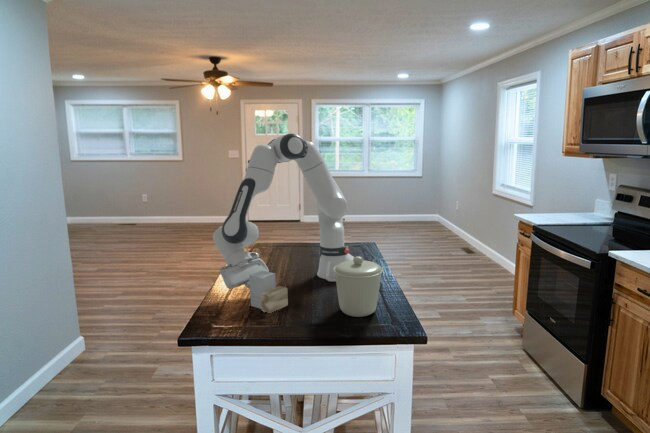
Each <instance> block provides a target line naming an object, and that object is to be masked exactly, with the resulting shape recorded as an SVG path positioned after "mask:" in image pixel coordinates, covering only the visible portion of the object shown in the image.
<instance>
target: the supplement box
mask: <svg viewBox="0 0 650 433" xmlns="http://www.w3.org/2000/svg"><path fill="white" fill-rule="evenodd" d="M249 281H250V289H249V294H250V295H249V296H250V306H251V307H254V308H256V309H260V310H262V301H261V293H264V292H266V291H269V290H271V289H273V288H276V287H277V284H276V273H275V272H271V271H269V272H267V271H263V270H261V271H259V272H256V273H254V274H251V275H249Z"/></svg>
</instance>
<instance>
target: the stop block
mask: <svg viewBox="0 0 650 433" xmlns="http://www.w3.org/2000/svg"><path fill="white" fill-rule="evenodd" d="M288 294H289V293H288V287H286V286H281V285H278V286H276V288H273V289H271V290H269V291H266V292H264V293H261V301H262V309H261V312H262V311H263V313H265V312H267V313H266V314H268V313H271V314H272V312H273V313H274V311H275V312H277V311H279V310H281V309H283V308H285V307H287V306H288V305H289V297H288V296H289V295H288ZM276 310H277V311H276Z"/></svg>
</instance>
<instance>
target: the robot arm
mask: <svg viewBox="0 0 650 433" xmlns="http://www.w3.org/2000/svg"><path fill="white" fill-rule="evenodd" d="M250 155H251V156H250V158H249V161H248V164H247V168H246V171H245V175H244V178H243V179H242V181H241V183H240V185H239V187H238V189H237V192H236V195H235V197H234V201H233V203H232V206H231V209H230V210H229V214H228V216H227V217H226V218H225V220H224V221H223V223H222V225H221V226H219V227H217V228H216V229H215V231H214V232H213V234H212V240H213V243H214V244H215V247H216V249H217V251H218V252H219V254H220V255H222V257H223V260H224V262H225V264H226V265H225V266H221V267H220V269H219V274H220V275H221V278H222V280H223V282H224V285H225V286H226V288H227V289H229V290H232V289H233V290H234V289H235V288H238V287H241V286H243V285H244V286H245V287H246V288H247V289H249V290H250V281H249V275H251V274H254V273H256V272H259V271H261V270H263V271H267V272H270V270H269V267H268V265H267V264H266V263H265V261H264V260H263V259H262V258H260V254H259V253H258V252H250V251H245V249H246V248H247V247H249V246H252V245H253V244H254V243H256V242H257V241H258V239H259V238H260V229H259V227H258V225H257V224H255V223H254V222H252V221H248V220H247V215H248V212H249V210H250V206H251V204H252V200H253V199H254V198H255V196H257V195H259V194H261V193H265V192H266V191H268V190H269V189H270V186H271V184H272V182H273V179H274V174H275V170H276V166H277V164H282V163H289V162H291V161H295V163H296V164H297V165H298V167H299V169H300V171H301V172H302V175H303V178H305V181H306V183H307V185H308V186H309V188H310V190H311V192H312V193H313V195H314V197H315V199H316V205H317V206H316V207H317V217H318V222H319V223H318V224H319V242H320V243H319V245H318V246H319V247H318V256H319V263H318V270H317V273H316V276H317V277H318V278H320V279H323V280H326V281H328V282H336V276H335V273H334V271H333V268H334V267H335V266H336V265H338V264H340V263H342V262H345V261H350V260H353V259H354V257H355V256H353V255H352V254H350V248H349V245H345V228H344V223H343V219H342V218H343V217H345V216H346V214H347V213H348V209H349V205H348V201H347V199H346V198H345V196H344V193H343V192H342V190H341V189H340V187H339V185H338V184H337V182H336V181H335V179H334V177H333V176H332V173H331V172H330V170H329V167H328V166H327V163H326V161H325V159H324V157H323V156H322V154H321V152H320V151H319V148H317V146H316V145H315V143H313V142H312V141H311V140H310V141H308V140H304V139H303V137H301V135H298V134H296V133H286V134H283V135H280V136H278V137H276V138H274V139H272V140H270V142H268V144H264V143H263V144H258V145H256V146H255V148H254V149H253V151H252V154H250Z"/></svg>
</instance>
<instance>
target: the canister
mask: <svg viewBox="0 0 650 433" xmlns="http://www.w3.org/2000/svg"><path fill="white" fill-rule="evenodd" d="M353 257H354V259H353V260H350V261H345V262H342V263H340V264H338V265H336V266H335V267H334V268H333V271H334V273H335V276H336V281H335V284H336V292H337V298H338V305H339V308H340V310H341V311H342V313H344V314H345V315H347V316H350V317H356V318H360V317H361V318H362V317H367V316H370V315H371V314H373V313H375V311H376V309H377V305H378V299H379V294H380V293H379V292H380V285H381V279H382V278H381V277H382V276H381V275H382V274H383V272H384V268H383V267H382V266H381V265H379V264H378V263H376V262H375V261H374V262H373V261H371V260H370V261H369V260H364V259H363V257H362V256H357V255H356V256H353Z"/></svg>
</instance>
